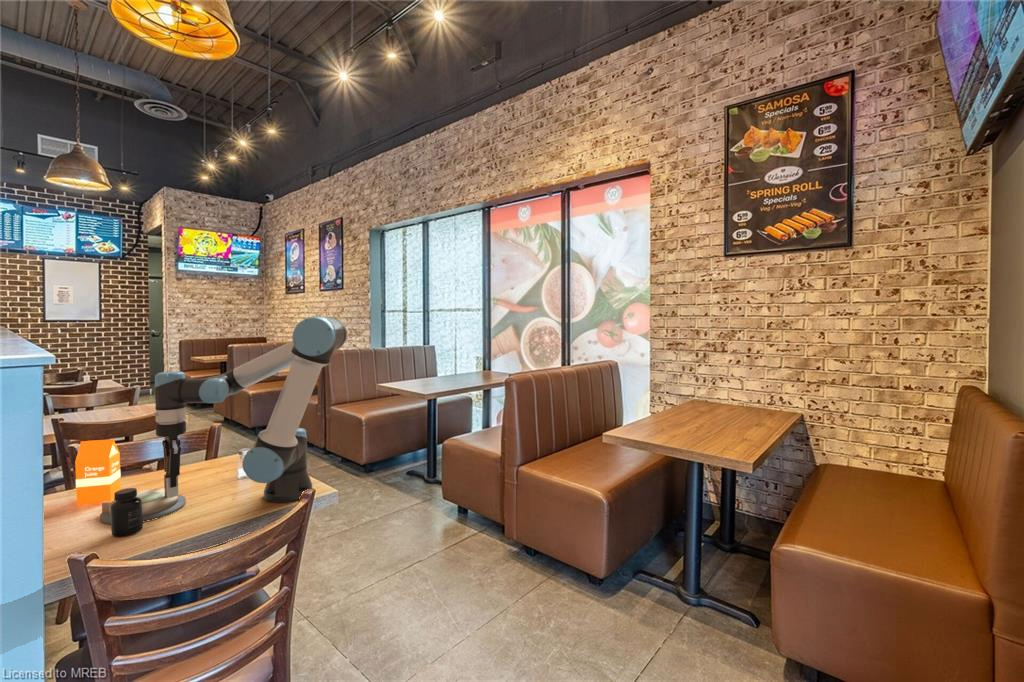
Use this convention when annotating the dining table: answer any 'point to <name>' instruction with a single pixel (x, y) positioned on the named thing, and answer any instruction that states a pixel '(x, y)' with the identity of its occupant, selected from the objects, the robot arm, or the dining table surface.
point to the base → (106, 518)
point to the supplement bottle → (126, 513)
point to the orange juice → (97, 471)
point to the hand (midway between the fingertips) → (172, 496)
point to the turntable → (154, 500)
